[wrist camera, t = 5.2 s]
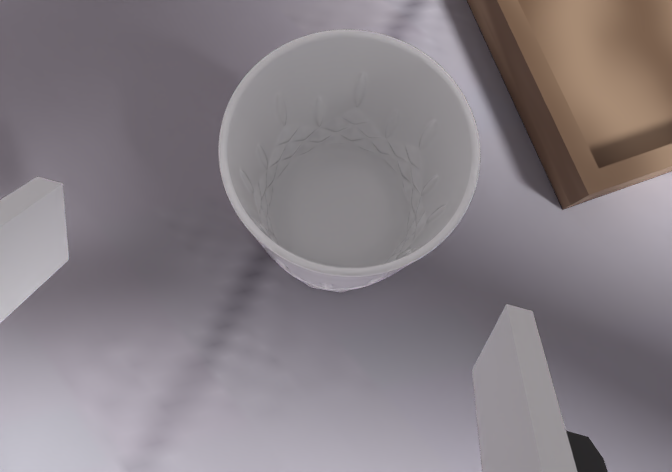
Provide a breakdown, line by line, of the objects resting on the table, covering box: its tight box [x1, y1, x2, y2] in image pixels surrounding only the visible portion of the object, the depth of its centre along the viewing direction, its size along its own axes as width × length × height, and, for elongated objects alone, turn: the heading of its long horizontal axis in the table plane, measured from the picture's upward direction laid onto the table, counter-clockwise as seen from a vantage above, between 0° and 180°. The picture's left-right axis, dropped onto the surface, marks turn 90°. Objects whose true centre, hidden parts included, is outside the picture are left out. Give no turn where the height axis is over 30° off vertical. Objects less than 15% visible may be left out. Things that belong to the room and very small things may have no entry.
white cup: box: [218, 29, 480, 293], centre depth 20 cm, size 8×8×10 cm
